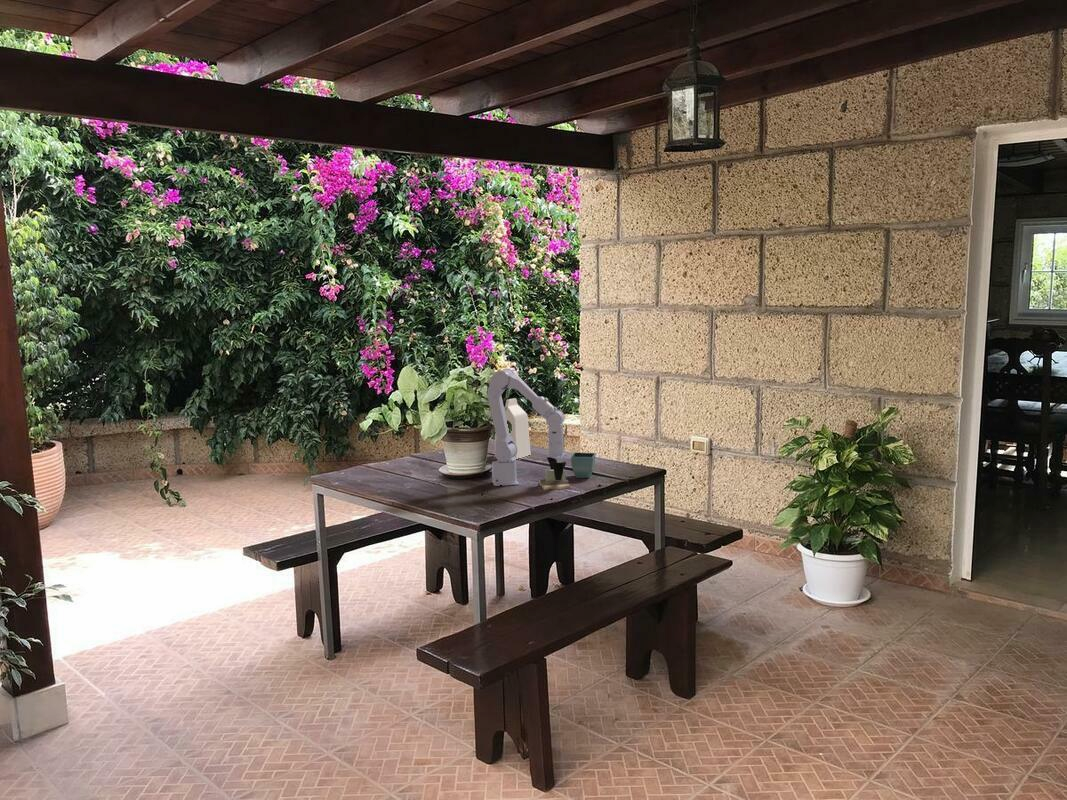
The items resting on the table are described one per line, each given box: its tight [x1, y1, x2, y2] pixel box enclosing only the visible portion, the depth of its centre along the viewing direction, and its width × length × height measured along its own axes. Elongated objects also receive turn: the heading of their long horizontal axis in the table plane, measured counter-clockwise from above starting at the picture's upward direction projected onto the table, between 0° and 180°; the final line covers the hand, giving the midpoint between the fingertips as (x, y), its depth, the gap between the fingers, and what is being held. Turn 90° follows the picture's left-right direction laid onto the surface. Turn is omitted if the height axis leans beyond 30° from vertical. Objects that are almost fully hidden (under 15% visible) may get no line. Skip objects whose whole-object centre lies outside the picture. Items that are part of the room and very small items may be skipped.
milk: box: [494, 397, 532, 459], centre depth 385 cm, size 12×12×26 cm
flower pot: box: [570, 452, 596, 479], centre depth 342 cm, size 9×9×9 cm
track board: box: [538, 477, 571, 491], centre depth 329 cm, size 10×12×2 cm
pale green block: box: [545, 469, 566, 481], centre depth 329 cm, size 7×2×5 cm, turn 99°
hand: (556, 477), depth 329 cm, fingers open, 7 cm apart
